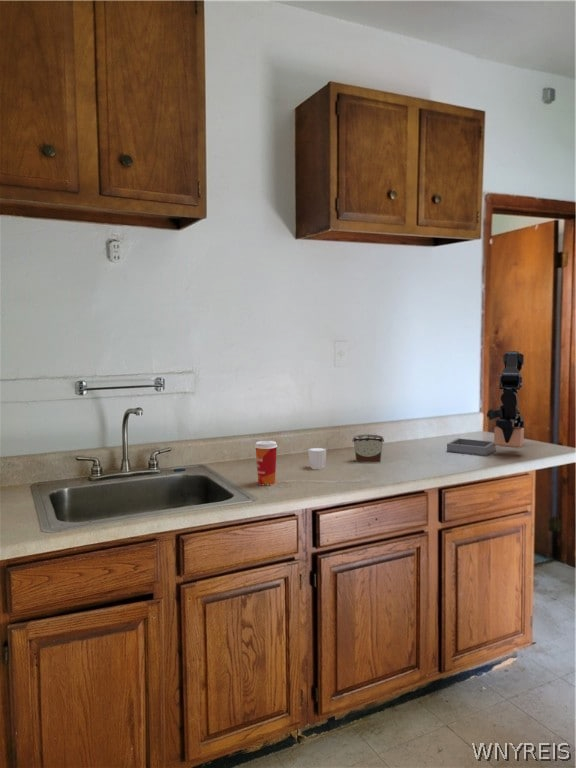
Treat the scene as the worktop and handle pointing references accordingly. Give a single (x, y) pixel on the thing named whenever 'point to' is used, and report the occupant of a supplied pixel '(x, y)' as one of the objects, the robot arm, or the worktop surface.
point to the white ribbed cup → (317, 457)
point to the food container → (368, 448)
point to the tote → (514, 441)
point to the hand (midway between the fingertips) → (508, 441)
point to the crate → (471, 447)
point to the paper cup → (266, 461)
